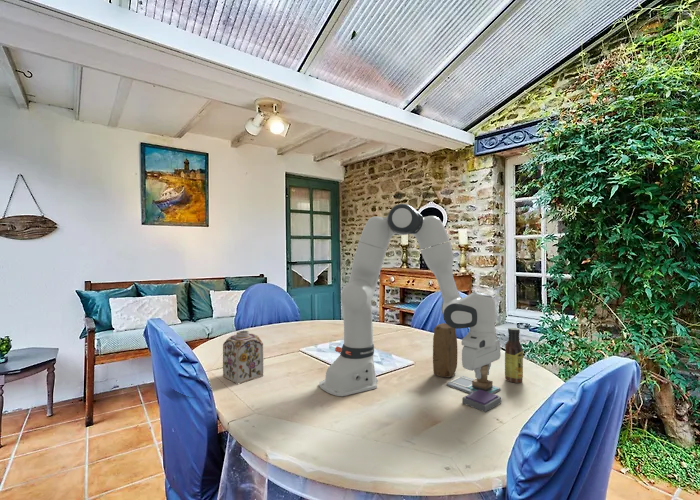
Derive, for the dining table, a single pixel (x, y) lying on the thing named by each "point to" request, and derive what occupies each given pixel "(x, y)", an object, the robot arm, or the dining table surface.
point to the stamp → (483, 380)
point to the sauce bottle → (513, 357)
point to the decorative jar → (242, 357)
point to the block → (444, 350)
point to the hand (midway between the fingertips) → (482, 376)
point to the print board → (468, 385)
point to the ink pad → (481, 400)
